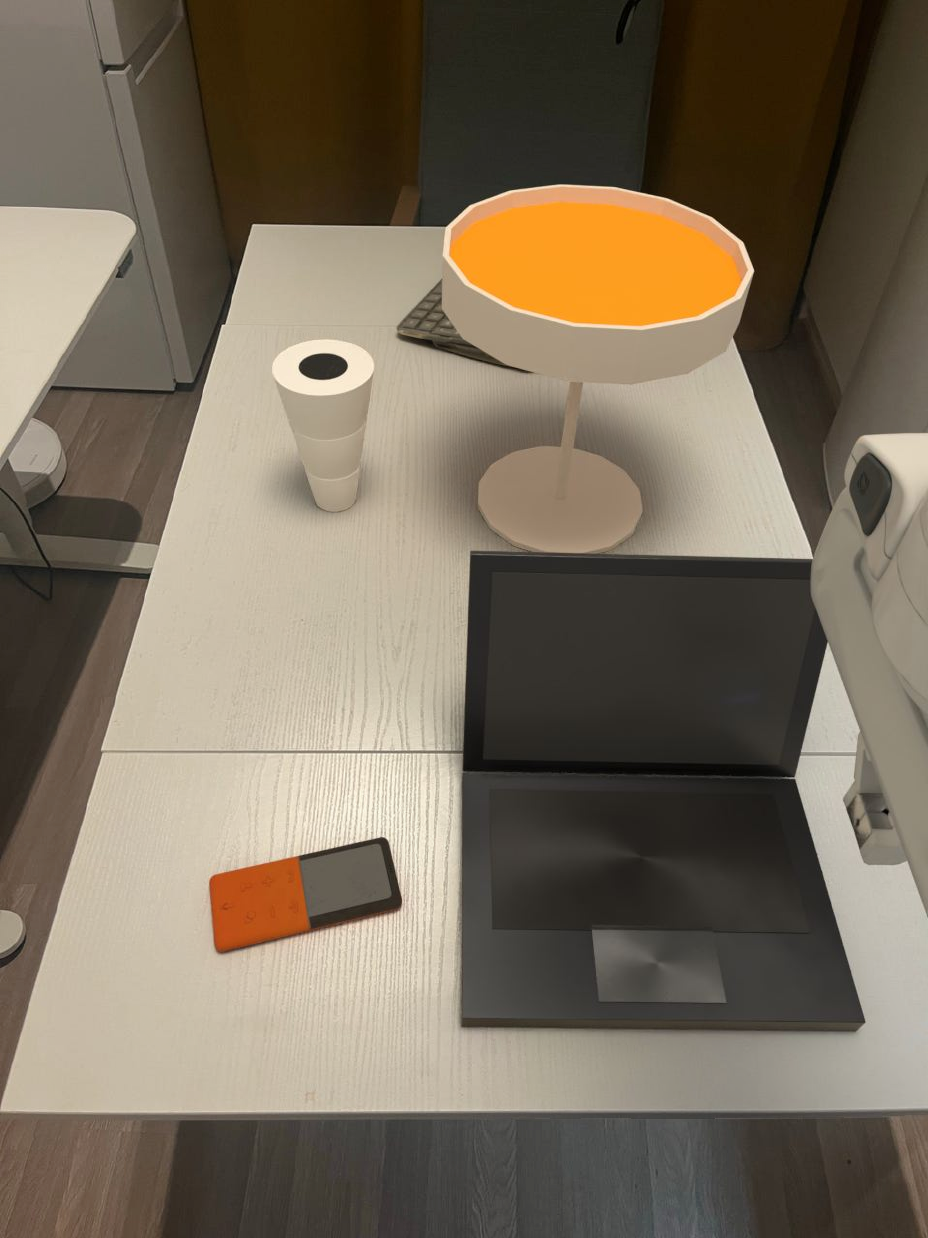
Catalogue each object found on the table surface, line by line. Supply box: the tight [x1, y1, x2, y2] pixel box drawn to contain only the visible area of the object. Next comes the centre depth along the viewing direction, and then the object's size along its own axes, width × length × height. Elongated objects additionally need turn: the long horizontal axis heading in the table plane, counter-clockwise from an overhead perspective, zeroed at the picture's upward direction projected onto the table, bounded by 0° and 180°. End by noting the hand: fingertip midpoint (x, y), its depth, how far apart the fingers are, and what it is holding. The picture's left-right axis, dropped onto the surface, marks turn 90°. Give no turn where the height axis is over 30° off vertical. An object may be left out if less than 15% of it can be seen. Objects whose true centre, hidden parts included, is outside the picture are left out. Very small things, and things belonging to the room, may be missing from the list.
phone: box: [208, 836, 403, 952], centre depth 73 cm, size 6×1×15 cm
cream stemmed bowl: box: [441, 183, 755, 554], centre depth 96 cm, size 30×30×31 cm
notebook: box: [460, 772, 866, 1032], centre depth 74 cm, size 21×30×2 cm
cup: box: [271, 339, 375, 513], centre depth 100 cm, size 11×11×18 cm
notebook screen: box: [461, 550, 829, 779], centre depth 76 cm, size 21×30×1 cm
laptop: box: [396, 278, 517, 369], centre depth 134 cm, size 26×32×10 cm
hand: (870, 833), depth 37 cm, fingers closed
